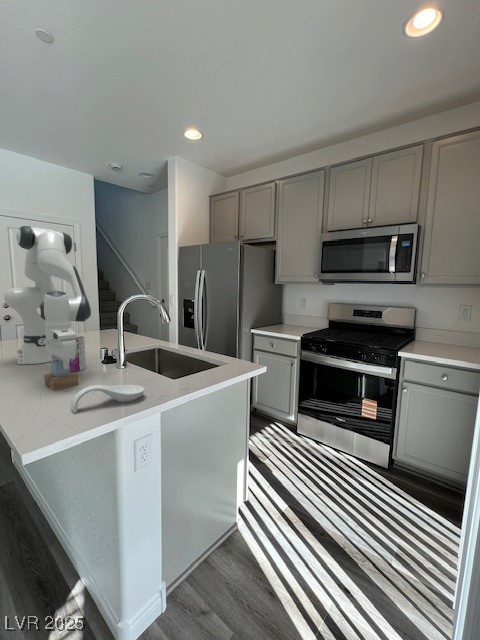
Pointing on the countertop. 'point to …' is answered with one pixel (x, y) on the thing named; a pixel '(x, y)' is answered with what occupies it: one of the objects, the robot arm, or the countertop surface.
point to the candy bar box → (78, 355)
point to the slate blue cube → (59, 369)
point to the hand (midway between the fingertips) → (60, 366)
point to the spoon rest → (111, 393)
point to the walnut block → (61, 381)
